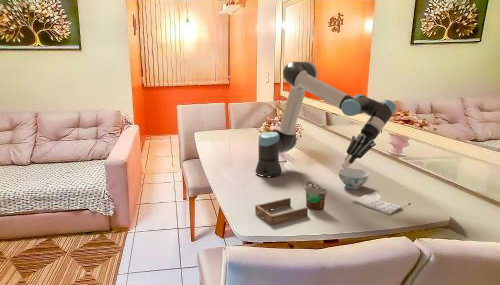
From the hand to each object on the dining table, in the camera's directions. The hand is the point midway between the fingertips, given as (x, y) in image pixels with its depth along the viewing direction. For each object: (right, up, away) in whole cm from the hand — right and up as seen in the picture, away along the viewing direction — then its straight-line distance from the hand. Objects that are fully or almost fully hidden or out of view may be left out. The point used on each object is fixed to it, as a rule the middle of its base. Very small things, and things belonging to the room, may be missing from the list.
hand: (344, 167), depth 157 cm
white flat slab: (+17, -17, 0) cm, 24 cm away
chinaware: (+10, -12, +20) cm, 25 cm away
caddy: (-30, -19, -13) cm, 37 cm away
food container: (-16, -17, -5) cm, 24 cm away
